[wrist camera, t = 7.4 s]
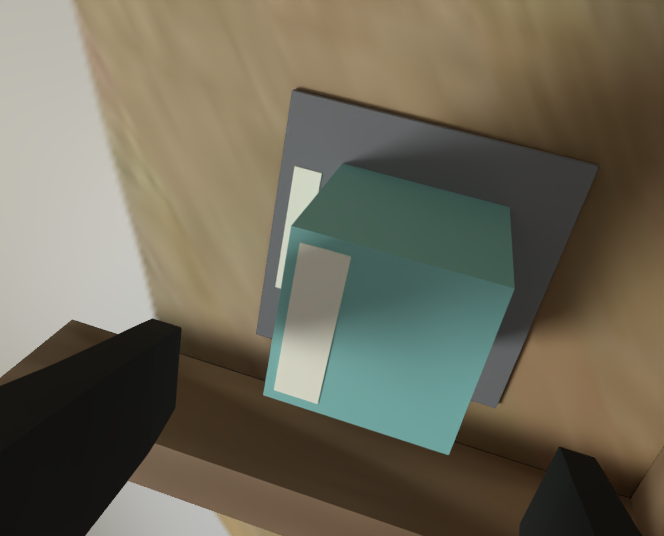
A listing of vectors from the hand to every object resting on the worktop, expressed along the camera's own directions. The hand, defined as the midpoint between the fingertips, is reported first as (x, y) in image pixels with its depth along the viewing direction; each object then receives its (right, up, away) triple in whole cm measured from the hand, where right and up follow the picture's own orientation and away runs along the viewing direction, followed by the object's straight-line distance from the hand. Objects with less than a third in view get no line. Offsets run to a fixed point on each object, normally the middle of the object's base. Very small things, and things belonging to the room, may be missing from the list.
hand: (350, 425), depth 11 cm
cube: (+2, +3, +6) cm, 7 cm away
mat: (+2, +3, +6) cm, 7 cm away
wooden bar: (0, -3, +9) cm, 10 cm away
